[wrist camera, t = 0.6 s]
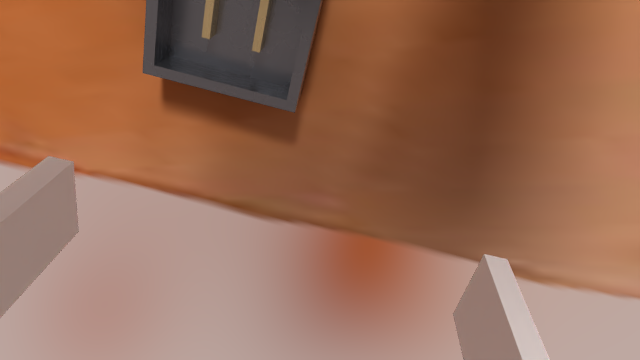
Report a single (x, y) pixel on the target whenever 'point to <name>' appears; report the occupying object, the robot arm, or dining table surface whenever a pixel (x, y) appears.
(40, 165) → the robot arm
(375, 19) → the dining table surface
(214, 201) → the dining table surface
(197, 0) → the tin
